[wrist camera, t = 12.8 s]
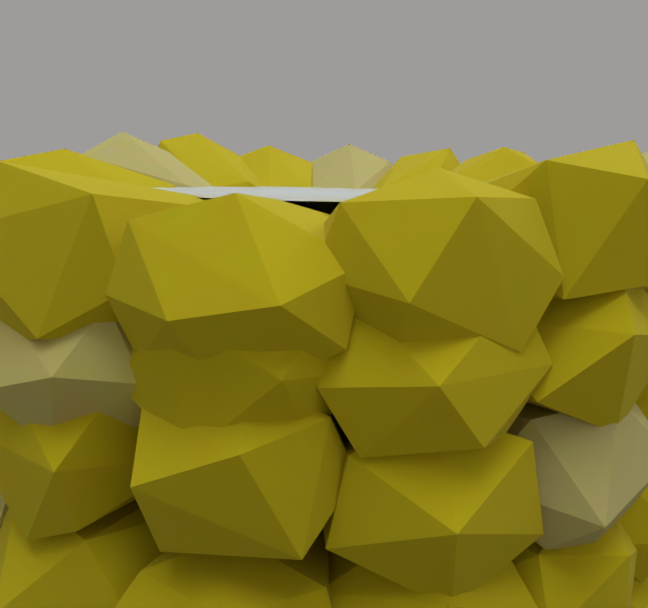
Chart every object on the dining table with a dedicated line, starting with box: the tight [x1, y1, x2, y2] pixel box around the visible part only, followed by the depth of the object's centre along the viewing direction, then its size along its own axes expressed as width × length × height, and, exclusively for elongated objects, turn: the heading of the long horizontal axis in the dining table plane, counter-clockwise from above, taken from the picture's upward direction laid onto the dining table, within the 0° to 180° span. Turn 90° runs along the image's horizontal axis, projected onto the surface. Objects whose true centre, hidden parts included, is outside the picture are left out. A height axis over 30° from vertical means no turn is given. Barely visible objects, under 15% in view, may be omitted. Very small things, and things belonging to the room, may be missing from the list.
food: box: [0, 132, 648, 608], centre depth 10 cm, size 15×12×10 cm
